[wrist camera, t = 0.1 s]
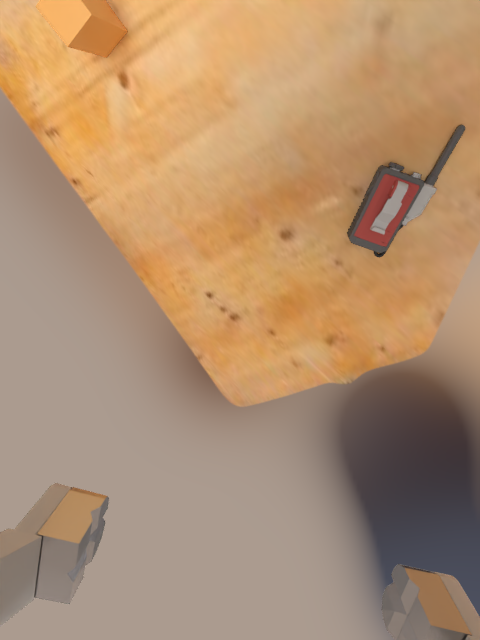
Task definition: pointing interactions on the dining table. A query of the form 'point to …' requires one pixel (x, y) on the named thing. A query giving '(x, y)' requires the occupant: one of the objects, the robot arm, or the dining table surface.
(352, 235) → the walkie-talkie
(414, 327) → the dining table surface
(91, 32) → the tall orange prism
